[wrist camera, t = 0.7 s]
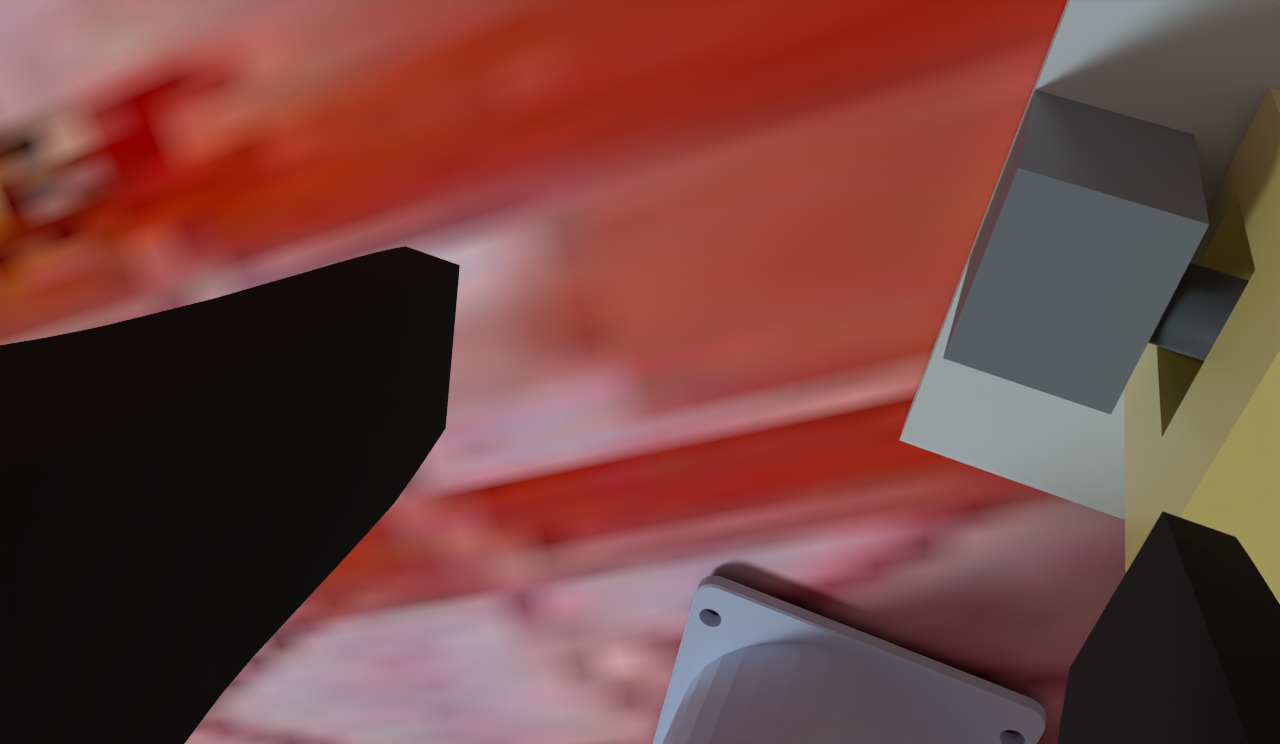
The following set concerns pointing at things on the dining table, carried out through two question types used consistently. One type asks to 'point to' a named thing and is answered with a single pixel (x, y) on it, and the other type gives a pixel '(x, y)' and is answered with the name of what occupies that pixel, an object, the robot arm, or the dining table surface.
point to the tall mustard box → (1220, 380)
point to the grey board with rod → (1096, 241)
